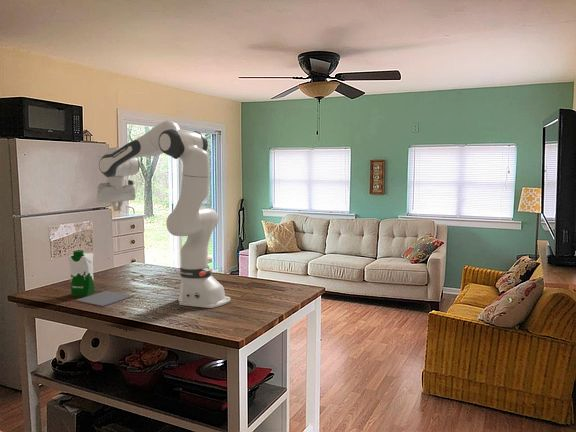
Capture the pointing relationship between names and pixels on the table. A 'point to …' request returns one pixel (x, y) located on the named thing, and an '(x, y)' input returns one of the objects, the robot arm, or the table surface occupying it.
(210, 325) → the table surface
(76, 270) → the soya milk
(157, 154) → the robot arm
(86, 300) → the mat
